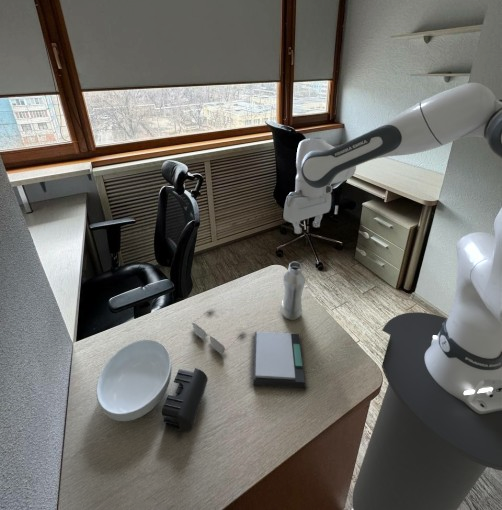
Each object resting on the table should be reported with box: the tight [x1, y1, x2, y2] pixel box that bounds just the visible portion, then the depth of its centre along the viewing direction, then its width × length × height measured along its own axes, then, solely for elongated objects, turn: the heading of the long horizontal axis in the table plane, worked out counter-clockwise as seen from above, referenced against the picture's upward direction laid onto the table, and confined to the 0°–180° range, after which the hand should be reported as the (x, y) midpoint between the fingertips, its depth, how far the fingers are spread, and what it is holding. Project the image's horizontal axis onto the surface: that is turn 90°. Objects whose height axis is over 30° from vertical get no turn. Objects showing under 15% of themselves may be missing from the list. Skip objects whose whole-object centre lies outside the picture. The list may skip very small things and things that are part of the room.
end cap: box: [161, 367, 209, 433], centre depth 63 cm, size 10×7×7 cm
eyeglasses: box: [191, 311, 243, 355], centre depth 81 cm, size 14×8×4 cm, turn 53°
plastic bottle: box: [280, 261, 306, 321], centre depth 84 cm, size 6×7×20 cm
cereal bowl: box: [95, 339, 173, 422], centre depth 66 cm, size 17×17×7 cm
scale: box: [252, 331, 306, 389], centre depth 74 cm, size 13×13×3 cm
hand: (307, 229), depth 88 cm, fingers open, 8 cm apart
